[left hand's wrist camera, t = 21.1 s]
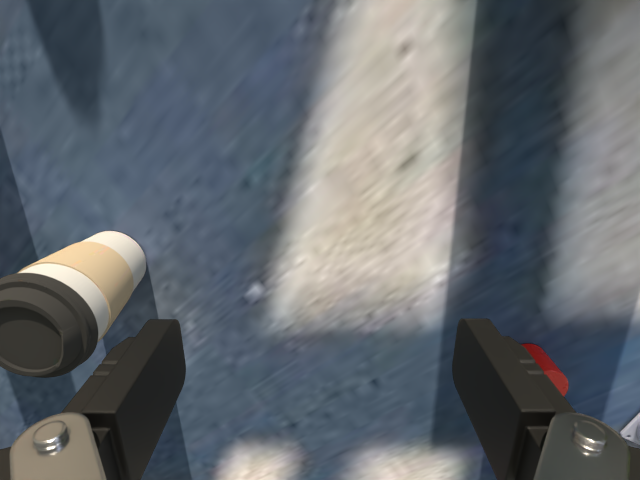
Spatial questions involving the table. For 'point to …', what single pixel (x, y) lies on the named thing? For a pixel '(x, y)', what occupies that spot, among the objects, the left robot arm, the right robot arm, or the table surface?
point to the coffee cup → (66, 304)
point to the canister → (548, 367)
